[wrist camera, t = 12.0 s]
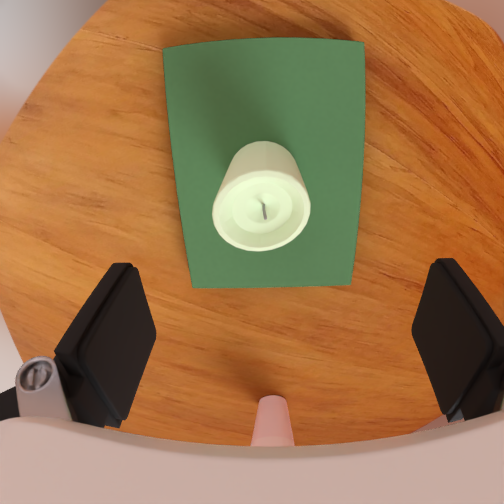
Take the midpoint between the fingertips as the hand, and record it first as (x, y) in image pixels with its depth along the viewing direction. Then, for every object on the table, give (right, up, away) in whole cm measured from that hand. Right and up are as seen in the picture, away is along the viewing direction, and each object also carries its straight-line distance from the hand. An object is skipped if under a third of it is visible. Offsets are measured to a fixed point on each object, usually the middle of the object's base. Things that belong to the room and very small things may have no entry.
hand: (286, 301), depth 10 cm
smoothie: (+2, -19, +30) cm, 35 cm away
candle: (0, +7, +13) cm, 15 cm away
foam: (0, +8, +15) cm, 17 cm away
